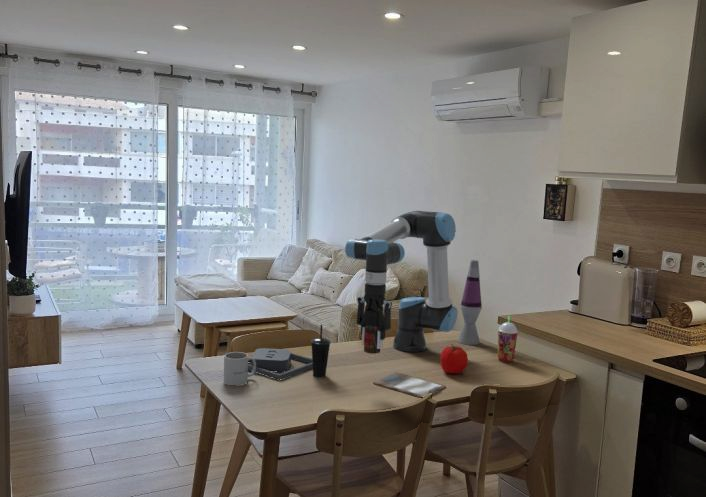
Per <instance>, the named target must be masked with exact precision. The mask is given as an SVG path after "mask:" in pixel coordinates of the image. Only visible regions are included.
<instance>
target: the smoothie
mask: <svg viewBox="0 0 706 497" xmlns="http://www.w3.org/2000/svg"><path fill="white" fill-rule="evenodd" d="M510 318H511V316H510V315H508V317H507V321H506V322H503V323H501V325H500V326H499V328H497V358H498V361H499V362H501V363H506V364H507V363H512V362H513V360H514V359H515V354H516V353H515V352H516V346H517V339H518V333H519V331H518V329H517V327H516V325H515V324H514V323H512V322H510Z"/></svg>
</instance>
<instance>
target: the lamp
mask: <svg viewBox="0 0 706 497" xmlns="http://www.w3.org/2000/svg"><path fill="white" fill-rule="evenodd" d="M480 277H481V276H480V266H479V260H477V259H471V260H470V262H469V266H468V272H467V274H466V280H465V284H464V289H463V294H462V298H461V303H460V309H461V315H462V318H463V322H464V323H463V326H462V328H461V330H460V332H459V335H458V337H457V342H458V343H459V344H463V345H466V346H467V345H468V346H477V345H479V344H480V342H481V341H480V338H479V333H478V330H477V324H476V323H477V320H478V318H479V316H480V314H481V312H482V309H483V307H482V294H481V282H480V281H481V279H480Z"/></svg>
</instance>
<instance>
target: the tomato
mask: <svg viewBox="0 0 706 497" xmlns="http://www.w3.org/2000/svg"><path fill="white" fill-rule="evenodd" d="M439 360H440V367H441V368H442V370H443V371H444V372H445V373H447V374H460V373H463V372H464V370H465V369H466V368H467V367H468V364H469V358H468V354H467V352H466V351H465V350H464V349H463V348H462V347H460V346H457V345H453V344H451V346H446V347H444V348H443V350H442V351H441V352H440V359H439Z"/></svg>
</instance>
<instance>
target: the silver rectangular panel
mask: <svg viewBox="0 0 706 497" xmlns="http://www.w3.org/2000/svg"><path fill="white" fill-rule="evenodd" d="M373 385H376V386H379V387H383V388H387V389H389V390H393V391H397V392H400V393H403V394H405V395H410V396H413V397H417V398H419V397H422V396H424V395H426V394H429V393H432V394H433V393H435V392H436V393H438V392H440V391H442V390H443V389H445V388H446V387H447V386H446V385H445V384H441V383H438V382H435V381H430V380H427V379H423V378H419V377H415V376H412V375H410V374H405V373H401V372H398V371H395V372H393V373H391V374H388V375H387V376H384V377H382V378H380V379H378V380H375V381H373ZM441 389H442V390H441ZM439 390H440V391H439ZM437 391H438V392H437ZM436 393H435V394H436ZM433 395H434V394H433Z"/></svg>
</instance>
